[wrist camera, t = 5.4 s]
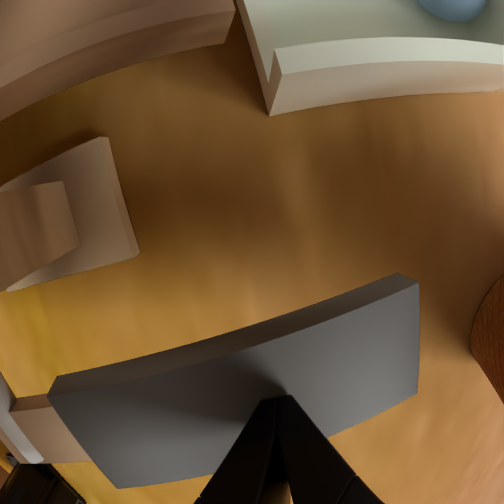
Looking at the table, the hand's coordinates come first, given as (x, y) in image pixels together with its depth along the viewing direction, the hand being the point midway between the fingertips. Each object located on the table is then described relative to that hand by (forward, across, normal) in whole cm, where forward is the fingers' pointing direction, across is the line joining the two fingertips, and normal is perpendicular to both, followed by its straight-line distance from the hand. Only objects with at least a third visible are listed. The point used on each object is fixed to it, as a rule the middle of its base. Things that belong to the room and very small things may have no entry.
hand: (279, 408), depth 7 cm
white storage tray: (+6, -7, -12) cm, 15 cm away
